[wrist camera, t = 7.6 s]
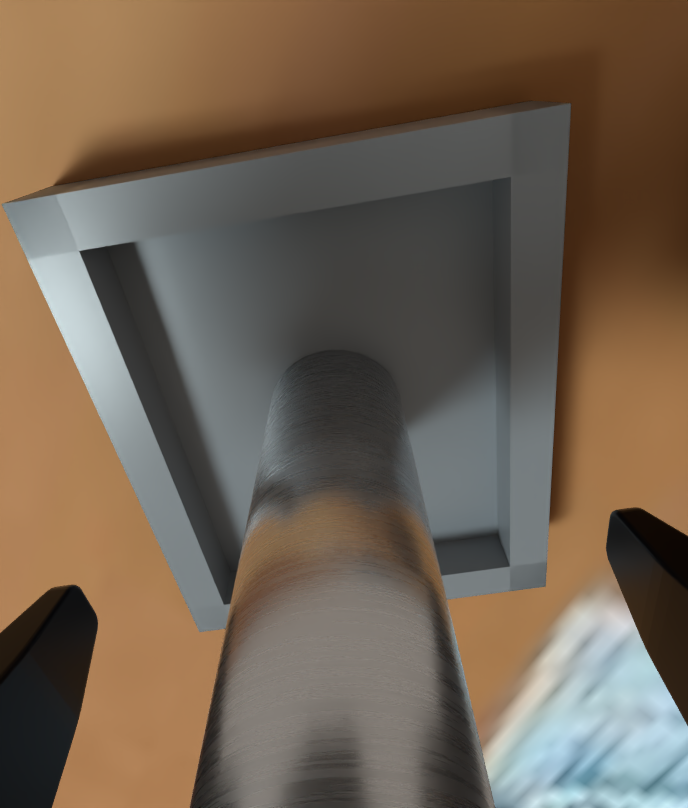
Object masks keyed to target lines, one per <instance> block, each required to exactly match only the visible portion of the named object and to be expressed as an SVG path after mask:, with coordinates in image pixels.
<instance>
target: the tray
mask: <svg viewBox="0 0 688 808" xmlns="http://www.w3.org/2000/svg"><path fill="white" fill-rule="evenodd" d="M570 115H571V103H560V102H543V101H527V102H522V103H516V104H510V105H505V106H499V107H494V108H488V109H482V110H477V111H471V112H466V113H460V114H454V115H449V116H443V117H438V118H432V119H426V120H421V121H415V122H410V123H404V124H398V125H393V126H387V127H381V128H376V129H370V130H365V131H359V132H353V133H348V134H342V135H337V136H331V137H325V138H320V139H314V140H309V141H303V142H297V143H292V144H286V145H281V146H275V147H269V148H264V149H258V150H253V151H247V152H241V153H236V154H230V155H224V156H219V157H213V158H208V159H202V160H196V161H191V162H185V163H180V164H174V165H168V166H163V167H157V168H152V169H146V170H140V171H135V172H129V173H124V174H118V175H112V176H107V177H101V178H96V179H90V180H84V181H79V182H73V183H67V184H62V185H56V186H51V187H48V188H45V189H43V190H40V191H37V192H34V193H32V194H29V195H26V196H23V197H20V198H18V199H15V200H12V201H9V202H7V203H4V204H2V206H3V208H4V210H5V212H6V214H7V216H8V219H9V221H10V223H11V225H12V227H13V229H14V232H15V234H16V236H17V238H18V240H19V242H20V245H21V247H22V249H23V251H24V253H25V255H26V258H27V260H28V262H29V264H30V266H31V268H32V270H33V273H34V275H35V277H36V279H37V281H38V283H39V286H40V288H41V290H42V292H43V294H44V296H45V299H46V301H47V303H48V305H49V307H50V309H51V312H52V314H53V316H54V318H55V320H56V322H57V325H58V327H59V329H60V331H61V333H62V335H63V338H64V340H65V342H66V344H67V346H68V348H69V351H70V353H71V355H72V357H73V359H74V361H75V364H76V366H77V368H78V370H79V372H80V374H81V377H82V379H83V381H84V383H85V385H86V387H87V389H88V392H89V394H90V396H91V398H92V400H93V402H94V405H95V407H96V409H97V411H98V413H99V415H100V418H101V420H102V422H103V424H104V426H105V428H106V431H107V433H108V435H109V437H110V439H111V441H112V444H113V446H114V448H115V450H116V452H117V454H118V457H119V459H120V461H121V463H122V465H123V467H124V470H125V472H126V474H127V476H128V478H129V480H130V483H131V485H132V487H133V489H134V491H135V493H136V496H137V498H138V500H139V502H140V504H141V506H142V508H143V511H144V513H145V515H146V517H147V519H148V521H149V524H150V526H151V528H152V530H153V532H154V534H155V537H156V539H157V541H158V543H159V545H160V547H161V550H162V552H163V554H164V556H165V558H166V560H167V563H168V565H169V567H170V569H171V571H172V573H173V576H174V578H175V580H176V582H177V584H178V586H179V589H180V591H181V593H182V595H183V597H184V599H185V602H186V604H187V606H188V608H189V610H190V612H191V615H192V617H193V619H194V621H195V623H196V625H197V627H198V630H199V632H204V631H211V630H219V629H226V624H227V619H228V614H229V609H230V604H231V599H232V594H233V589H234V584H235V579H236V574H237V569H238V564H239V559H240V554H241V549H242V544H243V539H244V534H245V529H246V524H247V519H248V514H249V509H250V504H251V499H252V494H253V489H254V484H255V479H256V474H257V469H258V464H259V459H260V454H261V449H262V444H263V439H264V434H265V429H266V424H267V419H268V414H269V409H270V404H271V399H272V395H273V391H274V388H275V386H276V384H277V382H278V380H279V379H280V377H281V375H282V374H283V373H284V372H285V371H286V370H287V369H288V368H289V367H290V366H291V365H292V364H293V363H295V362H296V361H298V360H299V359H301V358H303V357H305V356H307V355H310V354H313V353H315V352H320V351H324V350H348V351H353V352H357V353H360V354H363V355H365V356H367V357H369V358H371V359H373V360H375V361H376V362H377V363H379V364H380V365H381V366H383V367H384V368H385V369H386V370H387V371H388V373H389V374H390V375H391V377H392V378H393V380H394V382H395V383H396V385H397V388H398V391H399V394H400V399H401V403H402V407H403V412H404V416H405V420H406V425H407V429H408V433H409V438H410V442H411V446H412V451H413V455H414V459H415V464H416V468H417V472H418V477H419V481H420V485H421V490H422V494H423V498H424V503H425V507H426V511H427V516H428V520H429V524H430V529H431V533H432V537H433V541H434V546H435V550H436V554H437V559H438V563H439V567H440V572H441V576H442V580H443V585H444V589H445V593H446V598H447V599H455V598H462V597H470V596H477V595H485V594H493V593H500V592H508V591H515V590H523V589H531V588H538V587H546V570H547V551H548V532H549V513H550V494H551V475H552V456H553V437H554V418H555V399H556V380H557V361H558V342H559V323H560V305H561V286H562V267H563V248H564V229H565V210H566V191H567V172H568V153H569V134H570Z"/></svg>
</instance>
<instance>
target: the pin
mask: <svg viewBox="0 0 688 808" xmlns="http://www.w3.org/2000/svg"><path fill="white" fill-rule="evenodd" d="M190 808H495V805H494V801H493V797H492V792H491V788H490V784H489V779H488V775H487V771H486V766H485V762H484V758H483V753H482V749H481V745H480V740H479V736H478V732H477V727H476V723H475V719H474V714H473V710H472V706H471V701H470V697H469V693H468V688H467V684H466V680H465V675H464V671H463V667H462V663H461V658H460V654H459V650H458V645H457V641H456V637H455V632H454V628H453V624H452V619H451V615H450V611H449V606H448V602H447V598H446V593H445V589H444V585H443V580H442V576H441V572H440V567H439V563H438V559H437V554H436V550H435V546H434V541H433V537H432V533H431V529H430V524H429V520H428V516H427V511H426V507H425V503H424V498H423V494H422V490H421V485H420V481H419V477H418V472H417V468H416V464H415V459H414V455H413V451H412V446H411V442H410V438H409V433H408V429H407V425H406V420H405V416H404V412H403V407H402V403H401V399H400V394H399V391H398V388H397V385H396V383H395V382H394V380H393V378H392V377H391V375H390V374H389V373H388V371H387V370H386V369H385V368H384V367H383V366H381V365H380V364H379V363H377V362H376V361H375V360H373V359H371V358H369V357H367V356H365V355H363V354H360V353H357V352H353V351H348V350H324V351H320V352H315V353H313V354H310V355H307V356H305V357H303V358H301V359H299V360H298V361H296V362H295V363H293V364H292V365H291V366H290V367H289V368H288V369H287V370H286V371H285V372H284V373H283V374H282V375H281V377H280V379H279V380H278V382H277V384H276V386H275V388H274V391H273V395H272V399H271V404H270V409H269V414H268V419H267V424H266V429H265V434H264V439H263V444H262V449H261V454H260V459H259V464H258V469H257V474H256V479H255V484H254V489H253V494H252V499H251V504H250V509H249V514H248V519H247V524H246V529H245V534H244V539H243V544H242V549H241V554H240V559H239V564H238V569H237V574H236V579H235V584H234V589H233V594H232V599H231V604H230V609H229V614H228V619H227V624H226V629H225V634H224V639H223V644H222V649H221V654H220V659H219V664H218V669H217V674H216V679H215V684H214V689H213V694H212V699H211V704H210V709H209V714H208V719H207V724H206V729H205V734H204V739H203V744H202V749H201V754H200V759H199V764H198V769H197V774H196V779H195V784H194V789H193V794H192V799H191V804H190Z"/></svg>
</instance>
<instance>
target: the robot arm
mask: <svg viewBox="0 0 688 808" xmlns="http://www.w3.org/2000/svg"><path fill="white" fill-rule="evenodd" d="M606 551H607V556H608V560H609V562H610V565H611V567H612V569H613V572H614V574H615V577H616V579H617V581H618V584H619V586H620V589H621V591H622V593H623V596H624V598H625V601H626V603H627V605H628V608H629V610H630V613H631V615H632V617H633V620H634V622H635V625H636V627H637V629H638V632H639V634H640V636H641V639H642V641H643V643H644V645H645V648H646V650H647V652H648V654H649V656H650V658H651V659H652V661H653V663H654V665H655V667H656V669H657V671H658V672H659V674H660V676H661V678H662V680H663V682H664V683H665V685H666V687H667V689H668V691H669V693H670V694H671V696H672V698H673V700H674V702H675V703H676V705H677V707H678V709H679V711H680V713H681V714H682V716H683V718H684V720H685V722H686V724H687V725H688V536H687V535H685V534H684V533H682V532H680V531H678V530H677V529H675V528H673V527H672V526H670V525H668V524H667V523H665V522H663V521H662V520H660V519H658V518H657V517H655V516H653V515H652V514H650V513H648V512H647V511H645V510H643V509H641V508H636V507H634V508H627V509H619V510H615V511H613V512H612V513H611V515H610V520H609V528H608V536H607V543H606ZM97 628H98V620H97V616H96V613H95V611H94V610H93V608H92V606H91V605H90V603H89V601H88V600H87V598H86V596H85V595H84V593H83V592H82V590H81V589H80V587H78V586H76V585H66V586H59V587H54V588H51V589H50V590H48V591H47V592H46V593H45V594H44V595H42V596H41V597H40V598H39V599H38V600H37V601H36V602H35V603H33V604H32V605H31V606H30V607H29V608H28V609H27V610H26V611H24V612H23V613H22V614H21V615H20V616H19V617H18V618H17V619H16V620H14V621H13V622H12V623H11V624H10V625H9V626H8V627H7V628H5V629H4V630H3V631H2V632H1V633H0V808H52V805H53V802H54V799H55V796H56V792H57V789H58V786H59V783H60V779H61V776H62V773H63V770H64V766H65V763H66V760H67V757H68V753H69V750H70V747H71V744H72V740H73V737H74V734H75V730H76V727H77V723H78V720H79V716H80V711H81V707H82V703H83V698H84V693H85V688H86V683H87V678H88V673H89V668H90V663H91V659H92V654H93V649H94V644H95V639H96V634H97Z"/></svg>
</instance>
